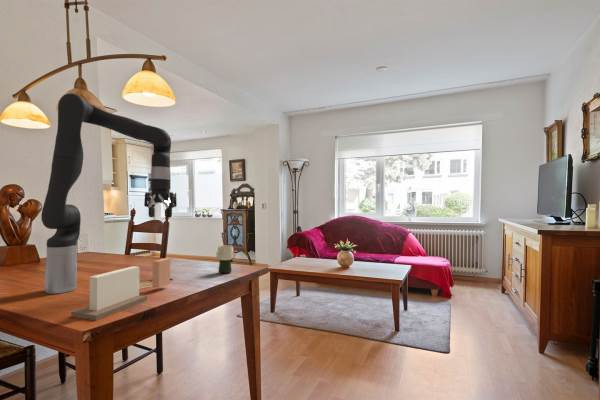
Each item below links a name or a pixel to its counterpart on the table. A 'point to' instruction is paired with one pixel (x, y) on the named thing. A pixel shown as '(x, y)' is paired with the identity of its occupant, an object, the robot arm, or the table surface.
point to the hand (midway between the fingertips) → (160, 217)
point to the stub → (161, 273)
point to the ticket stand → (111, 294)
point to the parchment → (145, 283)
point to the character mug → (225, 258)
